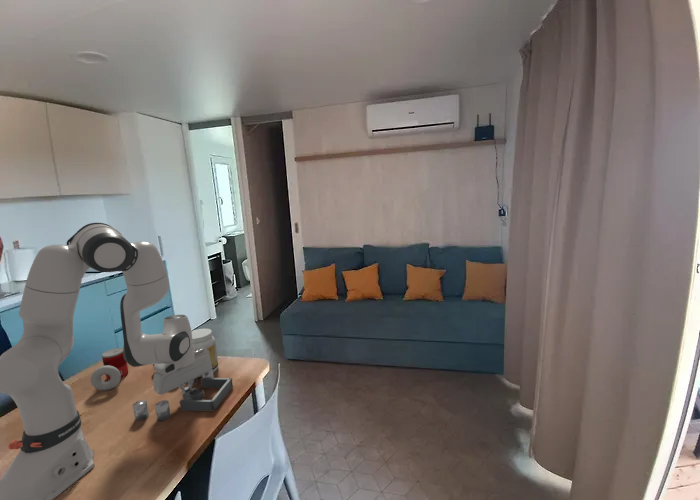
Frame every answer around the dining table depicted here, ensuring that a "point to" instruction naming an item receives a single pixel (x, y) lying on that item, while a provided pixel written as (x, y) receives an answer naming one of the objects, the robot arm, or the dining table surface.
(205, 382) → the tray
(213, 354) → the supplement tub
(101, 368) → the donut
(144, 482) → the dining table surface
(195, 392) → the grey square block
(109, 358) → the canned food
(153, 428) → the dining table surface
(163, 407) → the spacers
